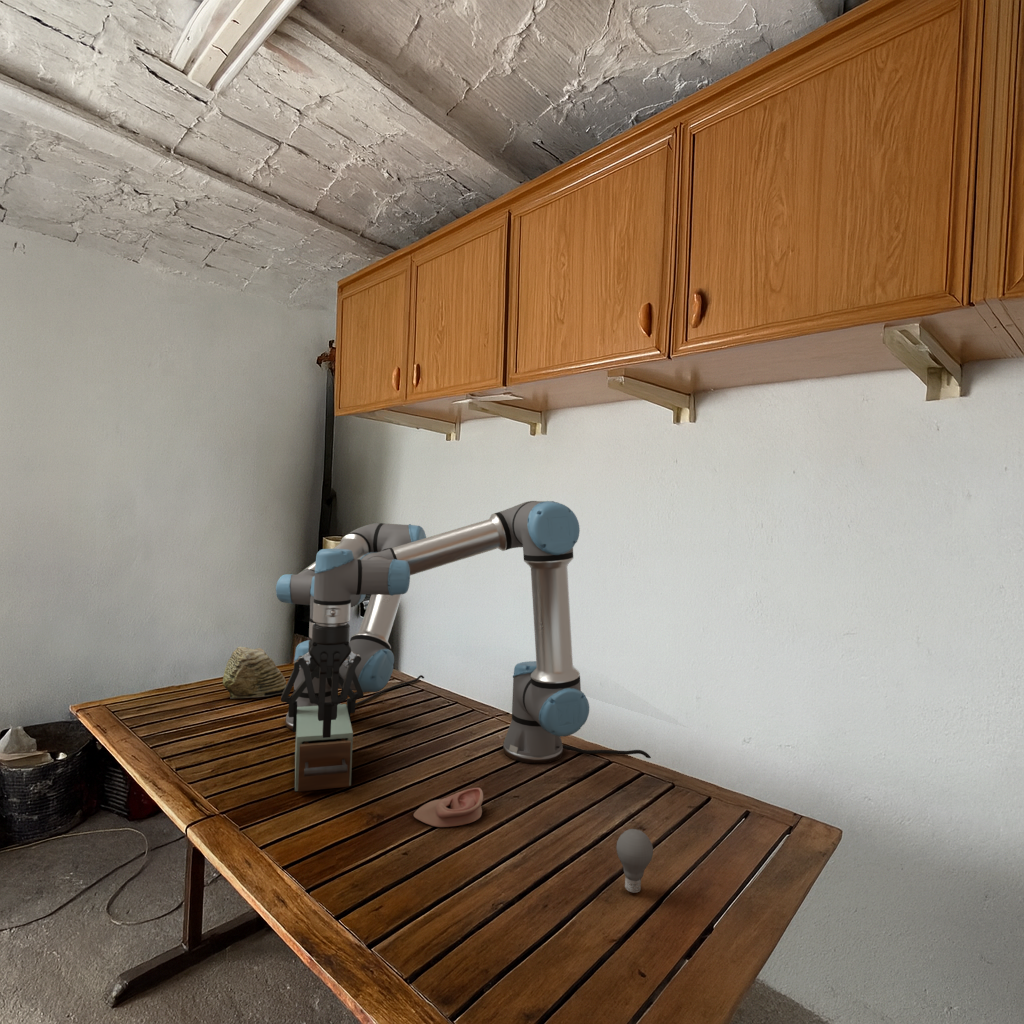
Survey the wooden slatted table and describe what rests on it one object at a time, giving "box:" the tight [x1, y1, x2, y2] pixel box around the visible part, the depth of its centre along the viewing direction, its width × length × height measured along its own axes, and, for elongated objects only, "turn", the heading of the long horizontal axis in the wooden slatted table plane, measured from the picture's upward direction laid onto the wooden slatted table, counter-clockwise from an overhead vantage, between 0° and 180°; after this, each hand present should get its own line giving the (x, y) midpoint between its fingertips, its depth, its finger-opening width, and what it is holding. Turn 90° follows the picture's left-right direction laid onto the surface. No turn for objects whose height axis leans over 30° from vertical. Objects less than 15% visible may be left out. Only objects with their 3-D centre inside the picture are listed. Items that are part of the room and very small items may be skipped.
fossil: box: [222, 646, 287, 699], centre depth 198 cm, size 9×18×15 cm, turn 132°
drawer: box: [297, 738, 351, 793], centre depth 141 cm, size 24×10×10 cm, turn 19°
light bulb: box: [615, 828, 654, 894], centre depth 106 cm, size 6×6×10 cm
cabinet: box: [294, 703, 354, 792], centre depth 147 cm, size 20×12×12 cm, turn 19°
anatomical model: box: [413, 787, 484, 828], centre depth 129 cm, size 13×4×12 cm
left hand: (321, 728), depth 153 cm, fingers closed on cabinet, 12 cm apart
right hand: (326, 735), depth 133 cm, fingers closed
